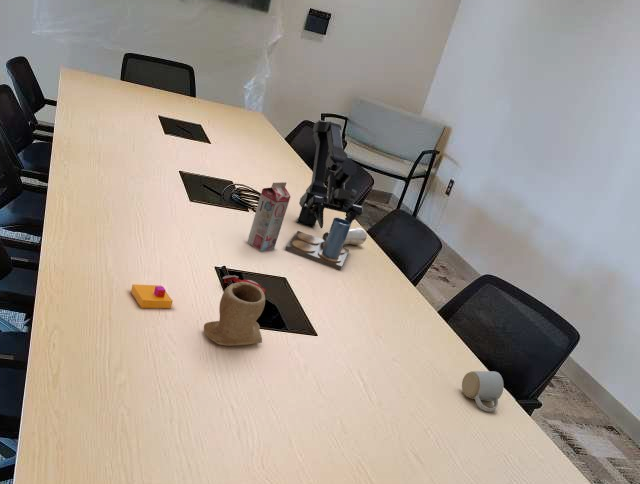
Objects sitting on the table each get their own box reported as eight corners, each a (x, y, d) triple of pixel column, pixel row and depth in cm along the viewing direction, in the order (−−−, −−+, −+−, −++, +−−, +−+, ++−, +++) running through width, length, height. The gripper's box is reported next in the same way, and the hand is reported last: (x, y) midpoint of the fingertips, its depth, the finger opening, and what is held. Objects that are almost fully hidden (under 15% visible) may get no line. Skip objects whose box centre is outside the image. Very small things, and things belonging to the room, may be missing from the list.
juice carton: (273, 249, 225) (293, 186, 214) (261, 251, 221) (280, 186, 209) (260, 240, 228) (278, 178, 217) (247, 242, 224) (265, 178, 212)
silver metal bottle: (369, 243, 252) (334, 244, 239) (355, 246, 257) (320, 247, 244) (368, 226, 251) (332, 226, 238) (354, 229, 256) (318, 229, 243)
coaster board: (285, 249, 228) (286, 244, 227) (296, 234, 245) (298, 229, 244) (340, 270, 226) (342, 265, 226) (348, 253, 244) (349, 248, 243)
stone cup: (217, 354, 157) (233, 298, 149) (197, 327, 165) (211, 273, 157) (271, 352, 165) (289, 299, 157) (249, 327, 173) (266, 275, 165)
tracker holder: (257, 281, 196) (274, 290, 188) (251, 295, 197) (268, 305, 189) (222, 269, 189) (239, 278, 181) (217, 284, 190) (233, 293, 182)
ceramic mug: (455, 387, 177) (468, 363, 173) (480, 389, 180) (493, 366, 176) (476, 412, 169) (490, 387, 165) (501, 414, 172) (516, 390, 168)
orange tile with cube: (140, 307, 165) (144, 292, 163) (130, 292, 170) (133, 277, 168) (170, 308, 169) (174, 293, 167) (159, 293, 175) (163, 278, 172)
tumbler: (318, 253, 229) (330, 218, 223) (327, 250, 234) (339, 216, 227) (333, 260, 227) (345, 226, 221) (341, 257, 232) (354, 224, 225)
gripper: (321, 172, 223) (318, 215, 220) (371, 184, 228) (369, 227, 225) (308, 186, 233) (305, 228, 230) (356, 198, 239) (354, 239, 236)
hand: (333, 230), depth 230 cm, fingers open, 9 cm apart
